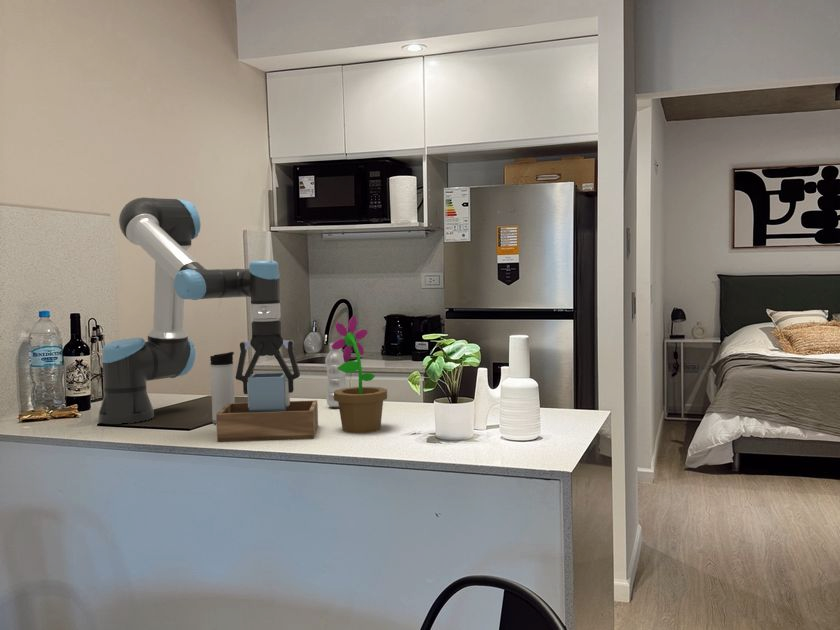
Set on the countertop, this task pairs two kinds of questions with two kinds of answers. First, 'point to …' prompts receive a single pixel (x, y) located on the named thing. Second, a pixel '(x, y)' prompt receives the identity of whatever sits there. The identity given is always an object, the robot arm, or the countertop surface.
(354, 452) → the countertop surface
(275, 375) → the slate crate
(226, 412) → the walnut crate
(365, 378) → the flowerpot
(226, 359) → the travel mug
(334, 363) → the plastic bottle
